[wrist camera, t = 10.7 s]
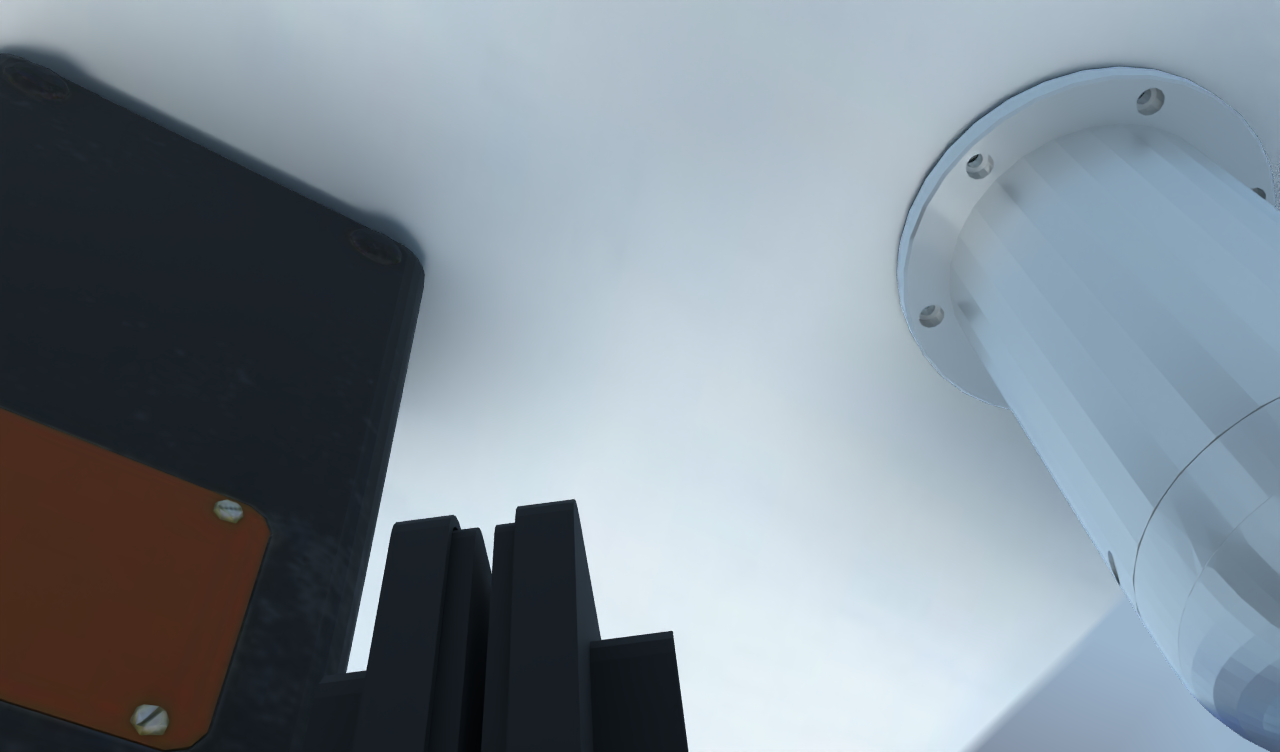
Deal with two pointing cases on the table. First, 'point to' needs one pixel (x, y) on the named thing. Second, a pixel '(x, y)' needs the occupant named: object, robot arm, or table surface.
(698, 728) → the table surface
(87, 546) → the voltmeter
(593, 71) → the table surface
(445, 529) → the robot arm
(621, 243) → the table surface
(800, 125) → the table surface
